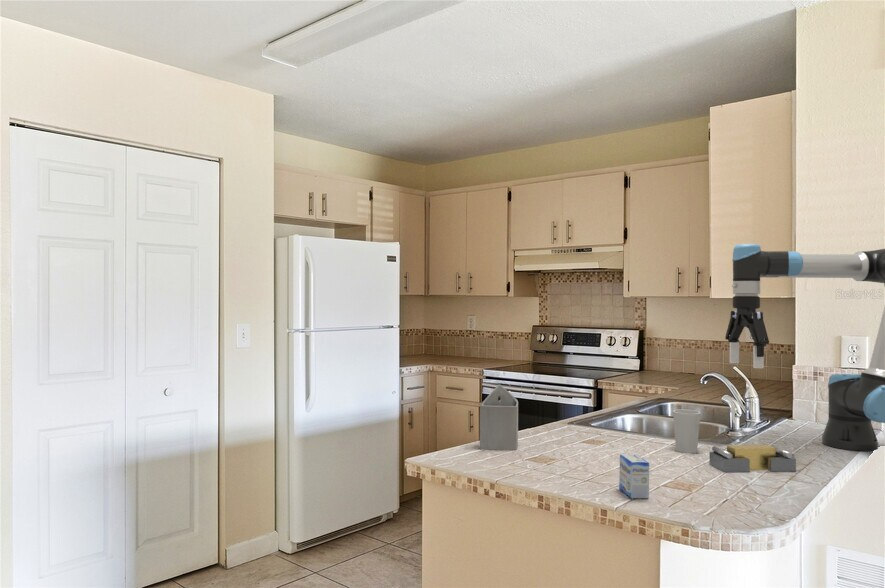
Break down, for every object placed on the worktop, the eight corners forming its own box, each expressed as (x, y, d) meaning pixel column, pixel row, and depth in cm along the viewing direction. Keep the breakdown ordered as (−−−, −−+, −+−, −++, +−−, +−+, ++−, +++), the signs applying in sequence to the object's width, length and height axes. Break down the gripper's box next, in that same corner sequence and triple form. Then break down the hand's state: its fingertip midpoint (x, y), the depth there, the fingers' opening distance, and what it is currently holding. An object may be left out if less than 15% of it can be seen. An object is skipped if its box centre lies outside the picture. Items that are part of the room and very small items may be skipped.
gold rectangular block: (766, 465, 178) (766, 444, 178) (775, 469, 174) (775, 448, 174) (726, 467, 177) (726, 445, 177) (734, 470, 173) (735, 448, 173)
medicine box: (618, 489, 155) (619, 453, 155) (636, 488, 155) (636, 453, 155) (631, 499, 147) (631, 462, 147) (649, 499, 147) (649, 462, 147)
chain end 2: (777, 463, 180) (777, 445, 180) (795, 471, 172) (796, 452, 172) (753, 463, 180) (753, 445, 180) (771, 471, 171) (771, 453, 171)
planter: (496, 454, 189) (497, 389, 189) (479, 449, 195) (479, 386, 195) (534, 446, 199) (534, 385, 199) (516, 442, 205) (516, 382, 205)
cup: (702, 454, 190) (703, 414, 190) (674, 452, 192) (675, 413, 192) (697, 448, 198) (697, 410, 198) (670, 446, 200) (671, 408, 200)
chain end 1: (733, 463, 180) (733, 445, 180) (749, 472, 171) (749, 453, 171) (709, 463, 179) (709, 445, 179) (724, 472, 171) (724, 453, 171)
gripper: (714, 295, 203) (713, 361, 203) (757, 295, 178) (756, 370, 178) (736, 295, 204) (736, 361, 204) (782, 295, 179) (782, 370, 179)
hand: (745, 365), depth 191 cm, fingers open, 13 cm apart
